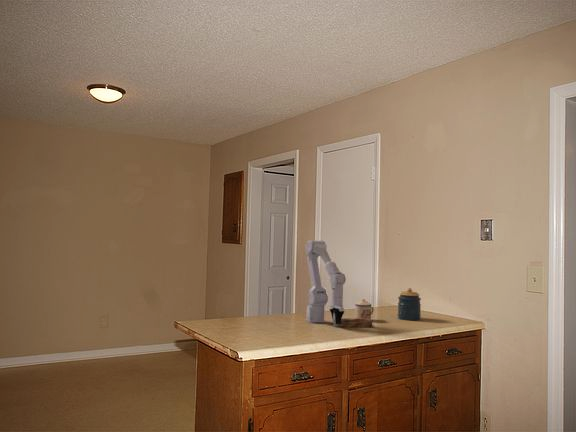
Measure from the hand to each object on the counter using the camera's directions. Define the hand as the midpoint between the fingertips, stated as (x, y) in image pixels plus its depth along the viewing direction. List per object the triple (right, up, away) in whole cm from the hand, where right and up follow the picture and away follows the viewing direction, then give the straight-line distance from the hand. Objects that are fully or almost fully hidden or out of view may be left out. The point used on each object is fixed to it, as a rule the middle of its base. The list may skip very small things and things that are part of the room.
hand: (336, 323), depth 251 cm
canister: (+45, -4, +31) cm, 55 cm away
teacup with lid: (+18, -3, +23) cm, 30 cm away
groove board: (+9, -2, +5) cm, 11 cm away
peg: (0, -2, 0) cm, 2 cm away
